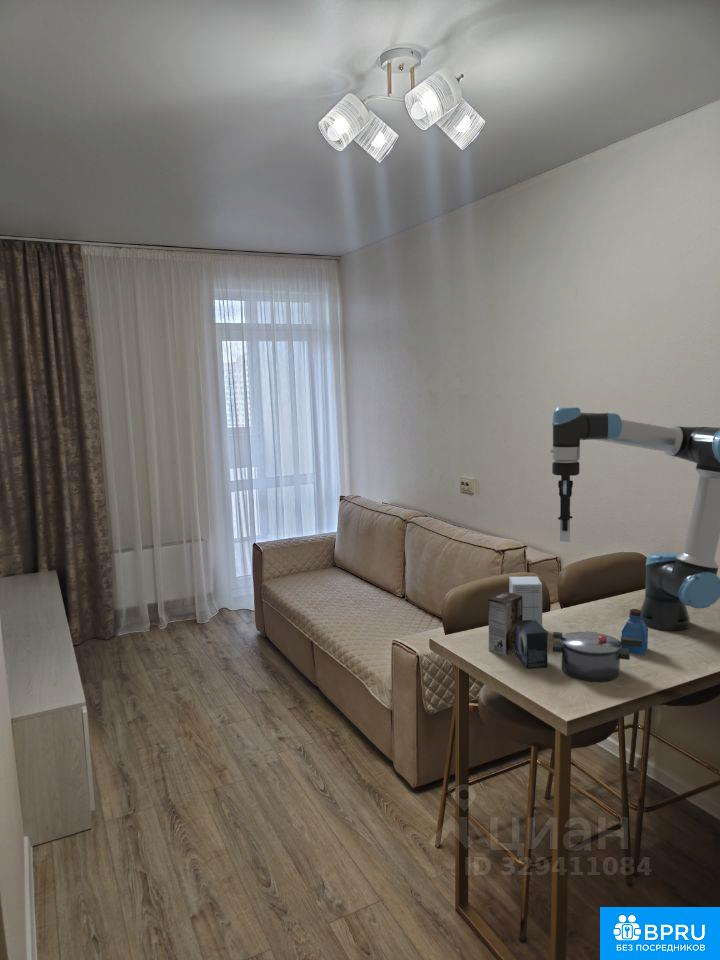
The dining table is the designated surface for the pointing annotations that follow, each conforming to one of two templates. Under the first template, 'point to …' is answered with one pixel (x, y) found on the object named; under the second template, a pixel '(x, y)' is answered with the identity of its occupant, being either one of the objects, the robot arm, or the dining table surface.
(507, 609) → the coffee box
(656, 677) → the dining table surface
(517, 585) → the supplement box
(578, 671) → the pot
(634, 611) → the perfume bottle
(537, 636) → the small box
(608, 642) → the lid
